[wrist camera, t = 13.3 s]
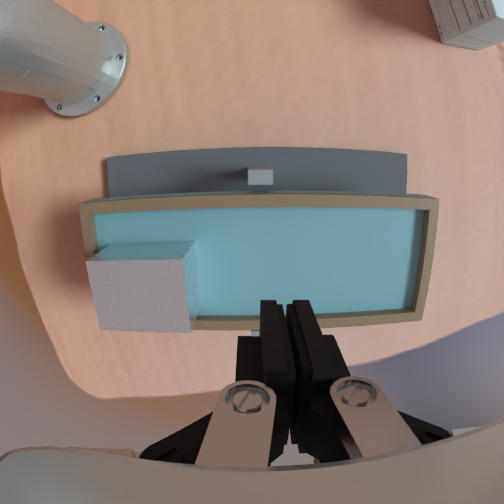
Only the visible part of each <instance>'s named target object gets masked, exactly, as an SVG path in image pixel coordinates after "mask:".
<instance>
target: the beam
mask: <svg viewBox="0 0 504 504" xmlns="http://www.w3.org/2000/svg"><path fill="white" fill-rule="evenodd" d="M438 209H439V199H437V198H433V197H430V196H426V195H419V194H402V193H381V192H354V191H220V192H192V193H171V194H153V195H137V196H123V197H110V198H98V199H92V200H89V201H86V202H82V203H79V212H80V221H81V229H82V236H83V244H84V250H85V257H86V261H87V260H88V259H89V258H91V257H92V256H94V255H95V254H97V253H98V252H100V251H101V250H103V249H104V248H106V247H107V246H109V245H110V244H124V243H149V242H176V241H195V247H196V259H197V270H198V281H199V291H200V301H201V306H200V309H199V312H198V315H197V318H196V321H195V323H194V326H193V329H192V330H259V329H260V300H276V301H277V304H282V305H283V309H284V314H285V319H286V306H287V304H292V301H293V300H309V301H310V304H311V306H312V309H313V311H314V314H315V317H316V319H317V322H318V324H319V327H320V328H334V327H350V326H364V325H377V324H388V323H399V322H409V321H419V320H422V316H423V311H424V306H425V301H426V296H427V291H428V286H429V280H430V274H431V268H432V261H433V254H434V247H435V239H436V230H437V221H438Z"/></svg>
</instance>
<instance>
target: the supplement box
mask: <svg viewBox="0 0 504 504" xmlns="http://www.w3.org/2000/svg"><path fill="white" fill-rule="evenodd" d="M429 4H430V7H431V10H432V13H433V16H434V19H435V22H436V25H437V29H438V32H439V35H440V39H441V42H442V44H448V45H453V46H459V47H465V48H470V49H475V50H481V49H484V48H487V47H489V46H492V45H495V44H498V43H501V42H504V0H429Z"/></svg>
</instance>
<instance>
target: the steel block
mask: <svg viewBox="0 0 504 504" xmlns="http://www.w3.org/2000/svg"><path fill="white" fill-rule="evenodd" d="M85 262H86V267H87V272H88V277H89V282H90V287H91V292H92V297H93V301H94V305H95V310H96V314H97V318H98V322H99V326H100V329H104V330H120V331H140V332H168V333H191V332H192V329H193V326H194V323H195V321H196V318H197V315H198V312H199V309H200V306H201V301H200V291H199V281H198V270H197V259H196V247H195V241H176V242H149V243H124V244H110V245H109V246H107V247H106V248H104V249H103V250H101V251H100V252H98V253H97V254H95V255H94V256H92V257H91V258H89V259H88V260H87V261H85Z"/></svg>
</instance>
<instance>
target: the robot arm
mask: <svg viewBox="0 0 504 504" xmlns="http://www.w3.org/2000/svg"><path fill="white" fill-rule="evenodd" d="M121 58H122V59H121ZM120 59H121V60H120ZM127 65H128V47H127V44H126V41H125V39H124V37H123V36H122V34H121V33H120V32H119V31H118V30H117V29H116V28H114V27H113V26H111V25H109V24H107V23H103V22H90V23H85V22H84V21H82V20H81V19H79V18H78V17H76V16H75V15H74V14H72V13H71V12H69V11H68V10H66V9H65V8H63V7H62V6H60V5H59V4H57V3H56V2H54V1H53V0H0V91H4V92H11V93H17V94H22V95H28V96H33V97H39V98H43V99H44V101H45V103H46V104H47V106H48V107H49V108H50V109H51V110H52V111H54V112H55V113H57V114H60V115H63V116H69V117H77V116H82V115H86V114H88V113H90V112H93V111H94V110H96V109H97V108H99V107H101V106H102V105H103V104H104V103H105V102H106V101H108V100H109V99H110V97H111V96H112V95H113V94H114V93H115V91H116V90H117V88H118V87H119V85H120V84H121V82H122V79H123V77H124V75H125V72H126V68H127ZM99 98H100V100H99ZM289 428H290V434H291V442H292V444H298V449H299V453H308V454H309V455H311V456H313V457H314V464H308V465H293V466H292V465H291V466H270V463H272V462H273V461H274V460H275V459H277V458H278V457H279V456H280V455H281V454H283V449H284V445H286V444H287V440H288V434H289ZM0 504H504V419H503V420H500V421H497V422H494V423H492V424H489V425H486V426H481V427H473V428H463V429H452V431H451V432H450V433H449V432H448V431H446V430H444V429H443V428H441V427H438V426H435V425H433V424H430V423H428V422H425V421H422V420H420V419H417V418H415V417H412V416H410V415H407V414H405V413H402V412H400V411H398V410H396V408H395V407H394V406H393V404H392V403H391V402H390V400H389V399H388V398H387V396H386V395H385V394H384V392H383V391H382V390H381V388H380V387H379V386H378V385H377V384H376V383H375V382H373V381H371V380H369V379H367V378H363V377H358V376H351V375H350V373H349V371H348V368H347V366H346V363H345V361H344V359H343V356H342V354H341V352H340V349H339V347H338V345H337V342H336V340H335V338H334V336H333V335H322V332H321V330H320V327H319V324H318V322H317V319H316V317H315V314H314V311H313V309H312V306H311V304H310V301H309V300H293V301H292V304H287V306H286V319H285V314H284V309H283V305H282V304H277V301H276V300H260V329H259V336H238V345H237V362H236V380H235V382H234V383H231V384H229V385H227V386H226V387H225V388H223V389H222V391H221V393H220V394H219V397H218V400H217V403H216V406H215V408H214V411H213V412H211V413H210V414H208V415H206V416H205V417H203V418H201V419H199V420H197V421H196V422H194V423H192V424H190V425H189V426H187V427H185V428H183V429H181V430H180V431H177V432H175V433H174V434H172V435H170V436H168V437H166V438H164V439H162V440H160V441H158V442H156V443H154V444H152V445H150V446H149V447H147V448H146V449H145V450H144V451H143V452H134V451H133V449H105V448H81V447H53V446H43V447H25V448H19V449H14V450H11V451H9V452H7V453H5V454H4V455H2V456H1V457H0Z"/></svg>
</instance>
